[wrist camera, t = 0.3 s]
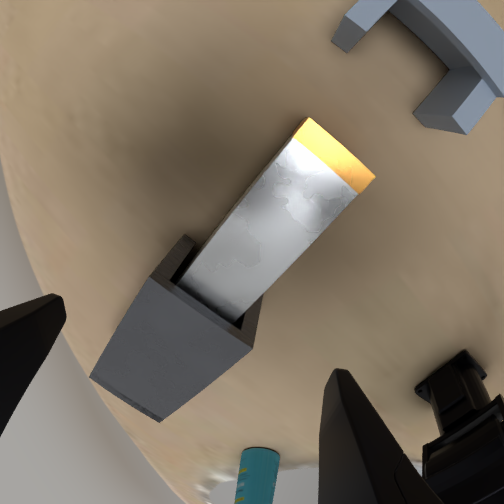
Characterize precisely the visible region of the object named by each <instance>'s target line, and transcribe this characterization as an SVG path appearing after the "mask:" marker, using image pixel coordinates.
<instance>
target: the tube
mask: <svg viewBox="0 0 504 504" xmlns="http://www.w3.org/2000/svg"><path fill="white" fill-rule="evenodd" d="M279 460H280V457H279V455H278V454H277V453H276V452H274V451H271V450H269V449H264V448H251V449H247V450H244V451H243V452H242V455H241V461H240V468H239V475H238V482H237V489H236V496H235V504H272V502H273V496H274V491H275V485H276V479H277V473H278V467H279Z"/></svg>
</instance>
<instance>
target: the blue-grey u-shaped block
mask: <svg viewBox="0 0 504 504" xmlns="http://www.w3.org/2000/svg"><path fill="white" fill-rule="evenodd" d="M387 11H389V12H391V13H392V14H393V15H394V16H395V17H397V18H398V19H399V20H400V21H401V22H402V23H404V24H405V25H406V26H407V27H408V28H409V29H410V30H411V31H412V32H413V33H415V34H416V35H417V36H418V37H419V38H420V39H421V40H422V41H423V42H424V43H425V44H426V45H427V46H428V47H429V48H430V49H431V50H432V51H433V52H434V53H435V54H436V55H437V56H438V57H439V58H440V59H441V60H442V61H443V63H444V64H445V65H446V66H447V67H448V68H449V69H450V70H449V71H448V73H447V74H446V75H445V76H444V77H443V79H442V80H441V81H440V82H439V83H438V84H437V86H436V87H435V88H434V89H433V90H432V92H431V93H430V94H429V95H428V96H427V97H426V99H425V100H424V101H423V102H422V103H421V104H420V106H419V107H418V108H417V109H416V110H415V111H414V112H413V115H414V116H415V117H416V118H417V119H418V120H419V121H420V122H421V123H422V124H423V125H424V126H425V127H427V128H433V129H439V130H444V131H450V132H455V133H460V134H464V135H467V134H468V133H469V132H470V131H471V129H472V128H473V127H474V126H475V124H476V123H477V122H478V120H479V119H480V118H481V117H482V115H483V114H484V113H485V111H486V110H487V109H488V108H489V106H490V105H491V104H492V102H493V101H494V100H495V98H496V97H504V31H503V30H502V29H501V28H500V26H499V25H498V24H497V23H496V21H495V20H494V19H493V18H492V17H491V16H490V14H489V13H488V12H487V11H486V10H485V9H484V8H483V7H482V6H481V4H480V3H479V2H478V1H477V0H359V1H358V2H357V3H356V4H355V5H354V6H353V7H352V8H351V9H350V10H349V11H348V12H347V13H346V14H345V15H344V17H343V19H342V21H341V23H340V25H339V27H338V29H337V30H336V32H335V34H334V36H333V38H332V40H331V41H332V42H333V43H334V44H336V45H337V46H338V47H340V48H341V49H342V50H343V51H345V52H346V53H348V52H349V51H350V50H351V49H352V47H353V46H354V45H355V44H356V43H357V42H358V41H359V40H360V39H361V38H362V37H363V36H364V35H365V34H366V33H367V31H368V30H369V29H370V28H371V27H372V26H373V25H374V24H375V23H376V22H377V21H378V20H379V19H380V18H381V17H382V16H383V15H384V14H385V13H386V12H387Z"/></svg>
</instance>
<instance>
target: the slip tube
mask: <svg viewBox="0 0 504 504" xmlns="http://www.w3.org/2000/svg"><path fill="white" fill-rule="evenodd" d="M375 177H376V176H375V175H374V174H373V173H372V172H371V171H369V170H368V169H367V168H366V167H365V166H364V165H363V164H362V163H361V162H360V161H359V160H358V159H357V158H356V157H354V156H353V155H352V154H351V153H350V152H349V151H348V150H347V149H346V148H345V147H343V146H342V145H341V144H340V143H339V142H338V141H337V140H335V139H334V138H333V137H332V136H331V135H330V134H328V133H327V132H326V131H325V130H324V129H323V128H321V127H320V126H319V125H318V124H317V123H315V122H314V121H313V120H312V119H310V118H308V117H305V118H304V120H303V121H302V122H301V123H300V124H299V125H298V127H297V128H296V129H295V130H294V131H293V134H292V135H291V136H290V137H289V139H288V140H287V141H286V142H285V143H284V145H283V146H282V147H281V148H280V149H279V151H278V152H277V153H276V154H275V155H274V157H273V158H272V159H271V160H270V162H269V163H268V164H267V165H266V166H265V168H264V169H263V170H262V171H261V173H260V174H259V175H258V176H257V177H256V179H255V180H254V181H253V182H252V184H251V185H250V186H249V187H248V189H247V190H246V191H245V192H244V194H243V195H242V196H241V197H240V199H239V200H238V201H237V202H236V204H235V205H234V206H233V207H232V209H231V210H230V211H229V213H228V214H227V215H226V216H225V218H224V219H223V220H222V222H221V223H220V224H219V225H218V227H217V228H216V229H215V231H214V232H213V233H212V234H211V236H210V237H209V238H208V240H207V241H206V242H205V243H204V245H203V246H202V247H201V249H200V250H199V251H198V253H197V254H196V255H195V257H194V258H193V259H192V261H191V262H190V263H189V265H188V266H187V267H186V269H185V270H184V271H183V273H182V274H181V275H180V277H179V278H178V279H177V281H176V282H175V283H174V284H175V285H176V286H178V287H179V288H180V289H182V290H183V291H184V292H186V293H187V294H189V295H190V296H191V297H193V298H194V299H196V300H197V301H198V302H200V303H201V304H203V305H204V306H206V307H207V308H208V309H210V310H211V311H213V312H214V313H216V314H217V315H219V316H220V317H221V318H223V319H224V320H226V321H227V322H229V323H230V324H233V323H234V322H235V321H236V320H237V319H238V318H239V317H240V316H241V315H242V314H243V313H244V312H245V311H246V310H247V309H248V308H249V307H250V306H251V305H252V304H253V303H254V302H255V301H256V300H257V299H258V298H259V297H260V296H261V295H262V294H263V293H264V292H265V291H266V290H267V289H268V288H269V287H270V286H271V285H272V284H273V283H274V282H275V281H276V280H277V279H278V278H279V277H280V276H281V275H282V274H283V273H284V272H285V271H286V270H287V269H288V268H289V267H290V265H291V264H292V263H293V262H294V261H295V260H296V259H297V258H298V257H299V256H300V255H301V254H302V253H303V252H304V251H305V250H306V249H307V248H308V247H309V246H310V245H311V244H312V243H313V242H314V241H315V240H316V238H317V237H318V236H319V235H320V234H321V233H322V232H323V231H324V230H325V229H326V228H327V227H328V226H329V225H330V224H331V223H332V222H333V220H334V219H335V218H336V217H337V216H338V215H339V214H340V213H341V212H342V211H343V210H344V209H345V208H346V207H347V205H348V204H349V203H350V202H351V201H352V200H353V199H354V198H355V197H356V196H357V195H358V194H360V193H361V192H362V191H363V190H364V189H365V188H366V187H367V186H368V185H369V183H370V182H371V181H372V180H373V179H374V178H375Z"/></svg>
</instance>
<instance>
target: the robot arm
mask: <svg viewBox="0 0 504 504" xmlns="http://www.w3.org/2000/svg"><path fill="white" fill-rule="evenodd" d="M65 321H66V311H65V306H64V301H63V298H62V297H61V296H59V295H56V294H53V293H51V294H48V295H45V296H42V297H40V298H36V299H34V300H31V301H28V302H25V303H22V304H19V305H16V306H13V307H10V308H8V309H5V310H2V311H0V436H1V434H2V433H3V431H4V429H5V427H6V425H7V423H8V421H9V419H10V418H11V416H12V414H13V412H14V410H15V409H16V407H17V405H18V403H19V401H20V400H21V398H22V396H23V395H24V393H25V391H26V389H27V388H28V386H29V384H30V383H31V381H32V379H33V378H34V376H35V375H36V373H37V371H38V370H39V368H40V366H41V365H42V363H43V362H44V360H45V359H46V357H47V355H48V353H49V352H50V350H51V348H52V346H53V344H54V342H55V340H56V338H57V336H58V335H59V333H60V331H61V329H62V327H63V325H64V324H65ZM486 376H487V374H486V372H485V371H484V370H483V369H482V367H481V366H480V365H479V364H478V363H477V362H476V361H475V359H474V358H473V357H472V356H471V355H470V354H469V353H468V352H467V351H463V352H461V353H460V354H459V355H457V356H456V357H455V358H454V359H453V360H451V361H450V362H449V363H448V364H446V365H445V366H444V367H442V368H441V369H440V370H439V371H437V372H436V373H435V374H433V375H432V376H431V377H429V378H428V379H427V380H425V381H424V382H422V383H421V384H420V385H418V386H417V387H416V388H415V393H416V394H417V395H418V396H420V397H421V398H423V399H424V400H426V401H427V402H429V403H430V404H431V405H432V409H433V412H434V415H435V419H436V422H437V425H438V429H439V432H440V437H439V438H437V439H435V440H434V441H432V442H430V443H427V444H425V445H423V453H422V477H421V476H420V474H419V473H418V472H417V470H416V469H415V467H414V466H413V465H412V463H411V462H410V460H409V459H408V457H407V456H406V454H405V453H404V454H403V450H402V448H401V447H400V445H399V444H398V443H397V441H396V440H395V438H394V437H393V435H392V434H391V432H390V431H389V429H388V428H387V426H386V425H385V423H384V422H383V420H382V419H381V417H380V416H379V414H378V413H377V412H376V410H375V409H374V407H373V406H372V404H371V403H370V401H369V400H368V398H367V397H366V395H365V394H364V392H363V391H362V390H361V388H360V387H359V385H358V384H357V382H356V381H355V379H354V378H353V376H352V375H351V374H350V372H349V371H348V370H346V369H339V368H336V369H334V370H333V372H332V374H331V376H330V378H329V380H328V382H327V384H326V386H325V389H324V396H323V406H322V415H321V424H320V433H319V491H318V494H319V495H318V504H504V398H503V396H502V395H501V394H499V395H498V396H496V397H495V399H494V400H493V401H491V399H490V397H489V395H488V392H487V390H486V388H485V386H484V384H483V382H482V380H484V379H485V378H486ZM502 420H503V421H502ZM501 421H502V422H501Z"/></svg>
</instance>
